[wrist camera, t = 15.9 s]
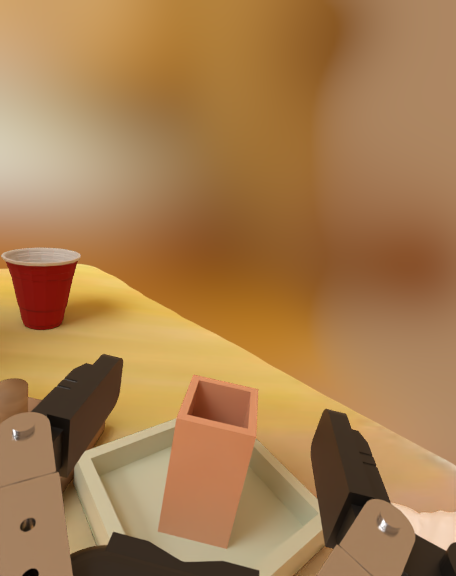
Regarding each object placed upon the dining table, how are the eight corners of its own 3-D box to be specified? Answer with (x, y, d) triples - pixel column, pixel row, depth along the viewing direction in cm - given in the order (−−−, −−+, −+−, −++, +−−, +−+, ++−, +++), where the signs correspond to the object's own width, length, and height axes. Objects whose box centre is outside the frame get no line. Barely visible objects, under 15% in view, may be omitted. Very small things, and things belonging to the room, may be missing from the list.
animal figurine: (590, 601, 20) (380, 490, 26) (541, 693, 22) (358, 569, 28) (565, 525, 25) (394, 448, 31) (527, 606, 27) (374, 518, 33)
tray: (73, 483, 30) (75, 454, 29) (215, 425, 40) (220, 402, 39) (156, 705, 18) (164, 671, 17) (325, 545, 29) (335, 517, 28)
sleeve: (157, 531, 26) (176, 418, 23) (178, 466, 32) (195, 369, 29) (226, 549, 26) (256, 436, 23) (234, 479, 32) (258, 383, 29)
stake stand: (-122, 504, 25) (-138, 418, 23) (-1, 405, 37) (-3, 341, 34) (29, 543, 25) (29, 459, 22) (104, 430, 36) (109, 366, 34)
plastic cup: (39, 303, 61) (39, 240, 58) (90, 318, 60) (94, 254, 56) (-15, 325, 51) (-19, 249, 48) (45, 344, 49) (47, 267, 46)
